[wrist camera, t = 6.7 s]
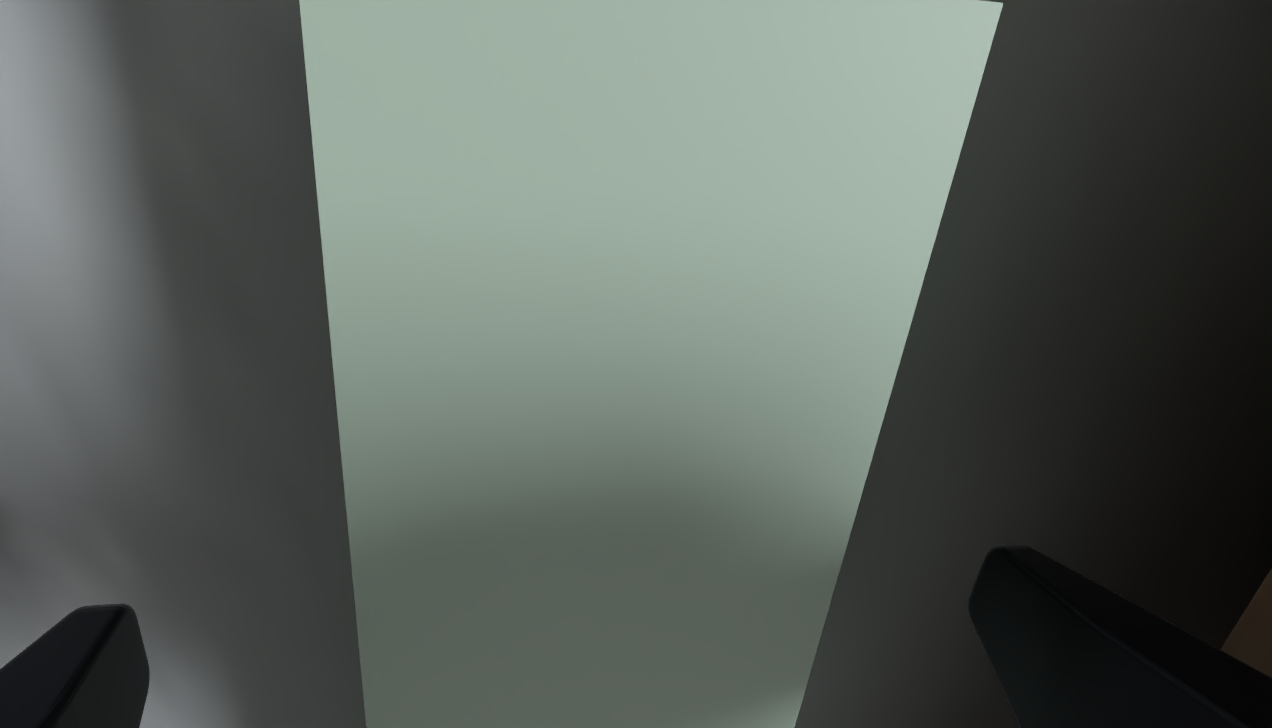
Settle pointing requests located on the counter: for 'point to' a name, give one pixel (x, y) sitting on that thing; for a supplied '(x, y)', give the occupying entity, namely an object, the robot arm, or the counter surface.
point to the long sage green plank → (618, 334)
